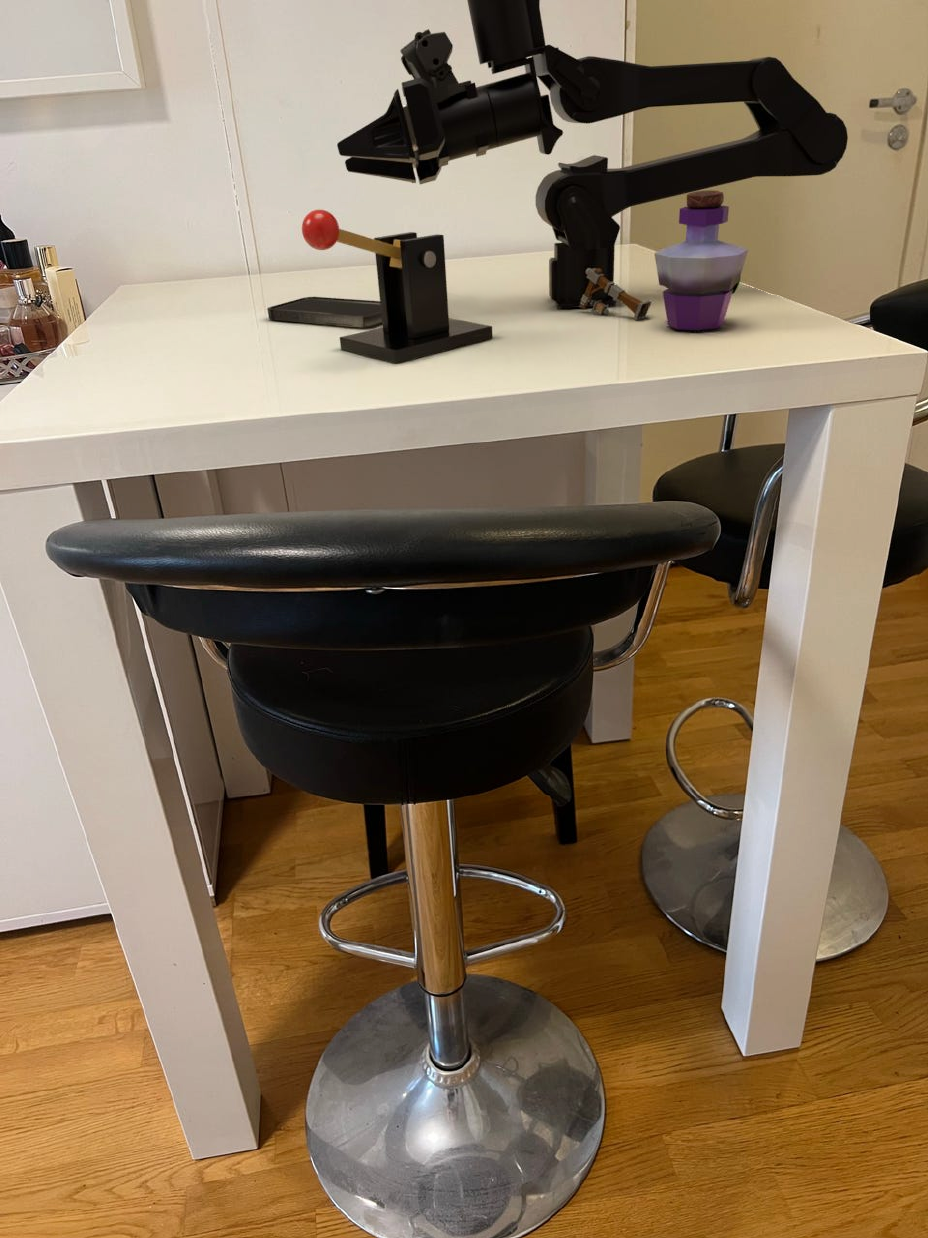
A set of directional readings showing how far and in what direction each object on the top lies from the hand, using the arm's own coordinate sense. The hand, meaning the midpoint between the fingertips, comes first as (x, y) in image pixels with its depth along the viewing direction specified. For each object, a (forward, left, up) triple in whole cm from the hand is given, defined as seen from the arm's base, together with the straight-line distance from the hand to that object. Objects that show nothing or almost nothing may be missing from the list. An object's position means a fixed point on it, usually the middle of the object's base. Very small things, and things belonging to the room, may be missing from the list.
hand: (342, 158), depth 91 cm
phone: (+3, -2, -16) cm, 16 cm away
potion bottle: (-34, +13, -16) cm, 40 cm away
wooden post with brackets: (-27, +6, -16) cm, 32 cm away
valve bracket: (-7, +13, -16) cm, 22 cm away
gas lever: (-3, +17, -8) cm, 19 cm away
